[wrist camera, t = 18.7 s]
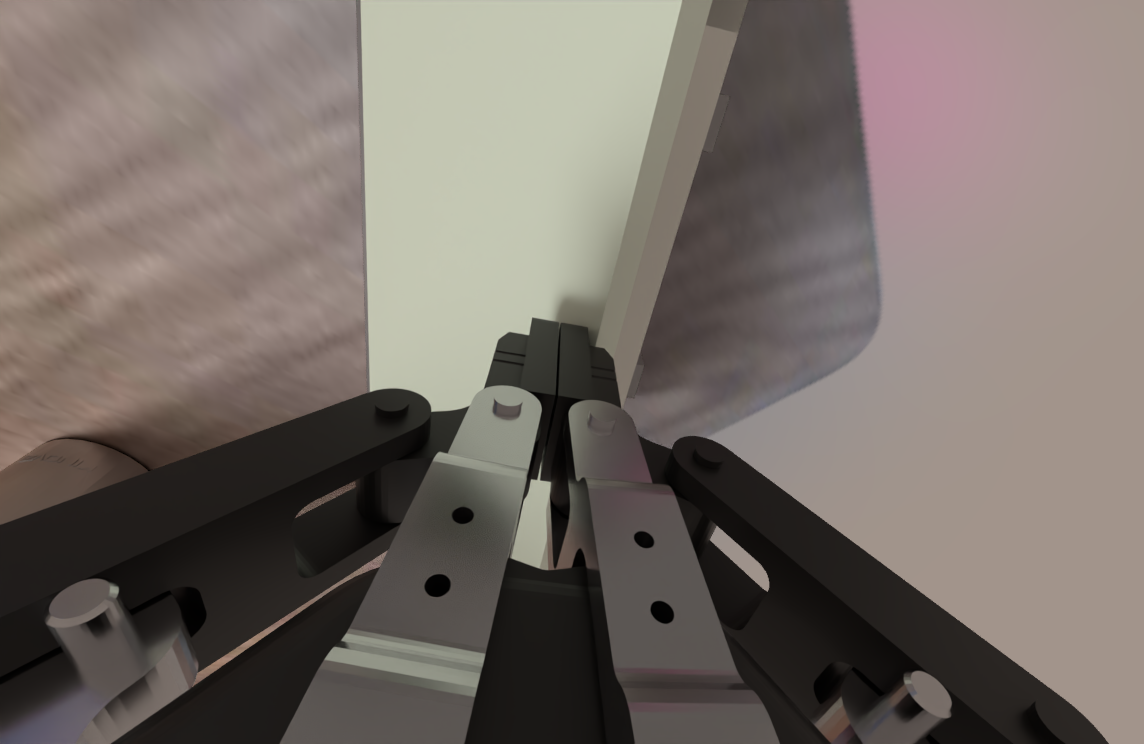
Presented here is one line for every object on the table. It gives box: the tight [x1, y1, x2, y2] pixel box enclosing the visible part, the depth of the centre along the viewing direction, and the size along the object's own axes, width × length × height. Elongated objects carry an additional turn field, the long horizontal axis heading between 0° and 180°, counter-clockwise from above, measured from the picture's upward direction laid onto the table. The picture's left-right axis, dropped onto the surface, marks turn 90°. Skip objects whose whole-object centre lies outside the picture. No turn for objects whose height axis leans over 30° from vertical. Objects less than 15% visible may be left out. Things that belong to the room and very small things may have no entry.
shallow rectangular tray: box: [356, 0, 748, 409], centre depth 22 cm, size 20×14×5 cm
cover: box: [361, 0, 712, 570], centre depth 16 cm, size 21×12×1 cm
